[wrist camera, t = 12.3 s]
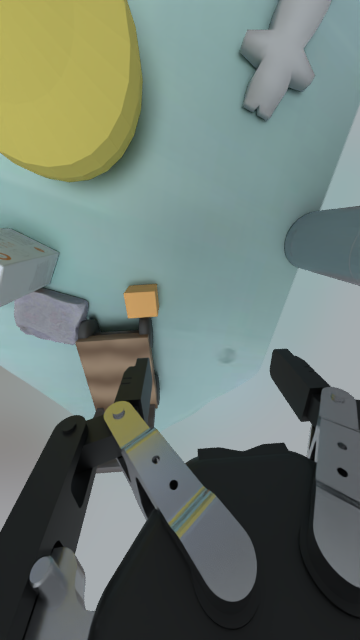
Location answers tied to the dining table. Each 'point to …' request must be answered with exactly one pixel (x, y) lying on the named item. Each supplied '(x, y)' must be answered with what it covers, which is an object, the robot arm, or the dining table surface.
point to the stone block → (50, 315)
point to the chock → (142, 301)
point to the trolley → (114, 366)
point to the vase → (68, 85)
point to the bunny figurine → (281, 53)
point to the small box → (23, 265)
